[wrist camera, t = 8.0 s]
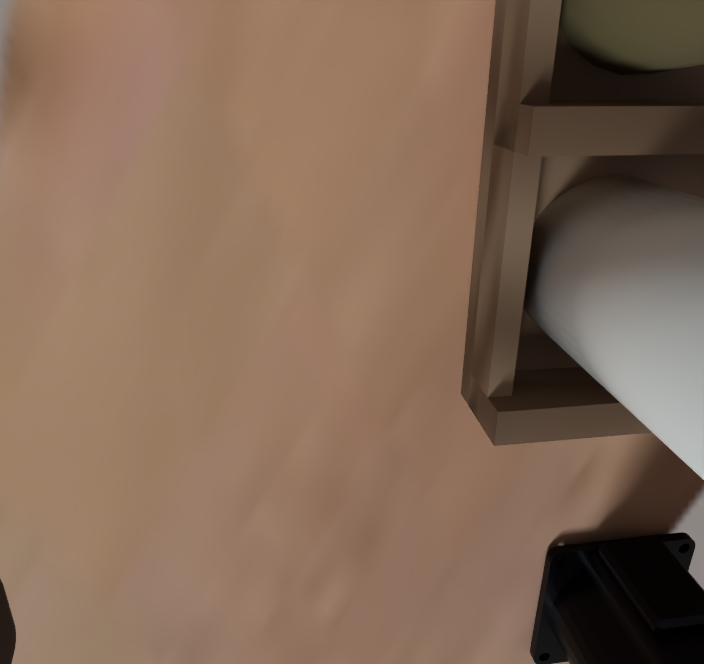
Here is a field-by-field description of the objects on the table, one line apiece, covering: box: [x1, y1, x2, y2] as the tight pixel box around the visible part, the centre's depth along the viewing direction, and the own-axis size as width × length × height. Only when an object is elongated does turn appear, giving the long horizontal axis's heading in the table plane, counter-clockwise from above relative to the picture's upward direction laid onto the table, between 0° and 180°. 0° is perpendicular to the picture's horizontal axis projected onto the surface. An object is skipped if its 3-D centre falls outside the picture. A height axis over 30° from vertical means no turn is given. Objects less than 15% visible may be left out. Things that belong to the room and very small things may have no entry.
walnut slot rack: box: [461, 0, 704, 446], centre depth 18 cm, size 19×8×3 cm, turn 0°
